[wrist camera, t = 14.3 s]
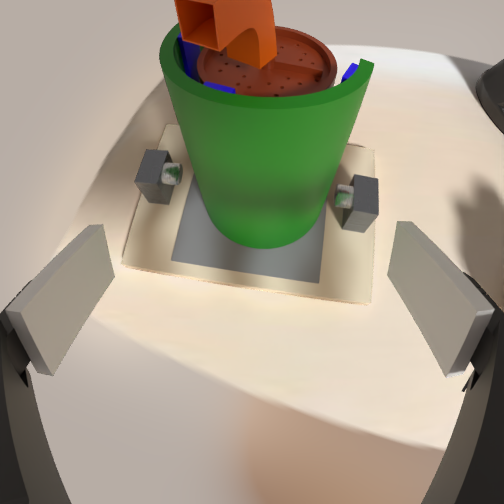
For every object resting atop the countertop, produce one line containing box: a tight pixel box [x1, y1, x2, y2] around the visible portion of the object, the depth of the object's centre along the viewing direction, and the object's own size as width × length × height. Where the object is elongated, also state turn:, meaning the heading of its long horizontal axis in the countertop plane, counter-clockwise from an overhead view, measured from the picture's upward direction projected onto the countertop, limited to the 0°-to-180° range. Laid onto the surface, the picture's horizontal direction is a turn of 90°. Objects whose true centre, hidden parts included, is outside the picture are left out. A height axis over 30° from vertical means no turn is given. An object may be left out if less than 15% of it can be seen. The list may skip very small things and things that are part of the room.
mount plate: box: [121, 124, 375, 305], centre depth 28 cm, size 21×15×1 cm
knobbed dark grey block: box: [135, 149, 183, 205], centre depth 26 cm, size 3×3×4 cm
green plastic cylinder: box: [159, 0, 374, 249], centre depth 18 cm, size 10×9×20 cm
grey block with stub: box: [334, 174, 379, 233], centre depth 25 cm, size 3×3×4 cm
